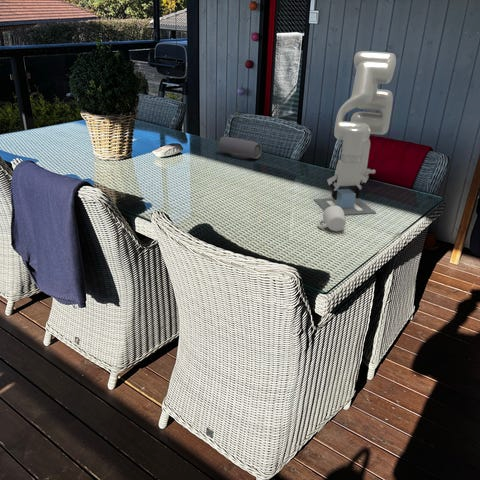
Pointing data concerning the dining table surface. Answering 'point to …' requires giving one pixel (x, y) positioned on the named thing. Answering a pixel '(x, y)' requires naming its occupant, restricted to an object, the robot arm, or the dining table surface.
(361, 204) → the letter mat
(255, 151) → the bluetooth speaker
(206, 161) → the dining table surface
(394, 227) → the dining table surface
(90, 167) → the dining table surface
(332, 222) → the cup
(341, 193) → the cube
